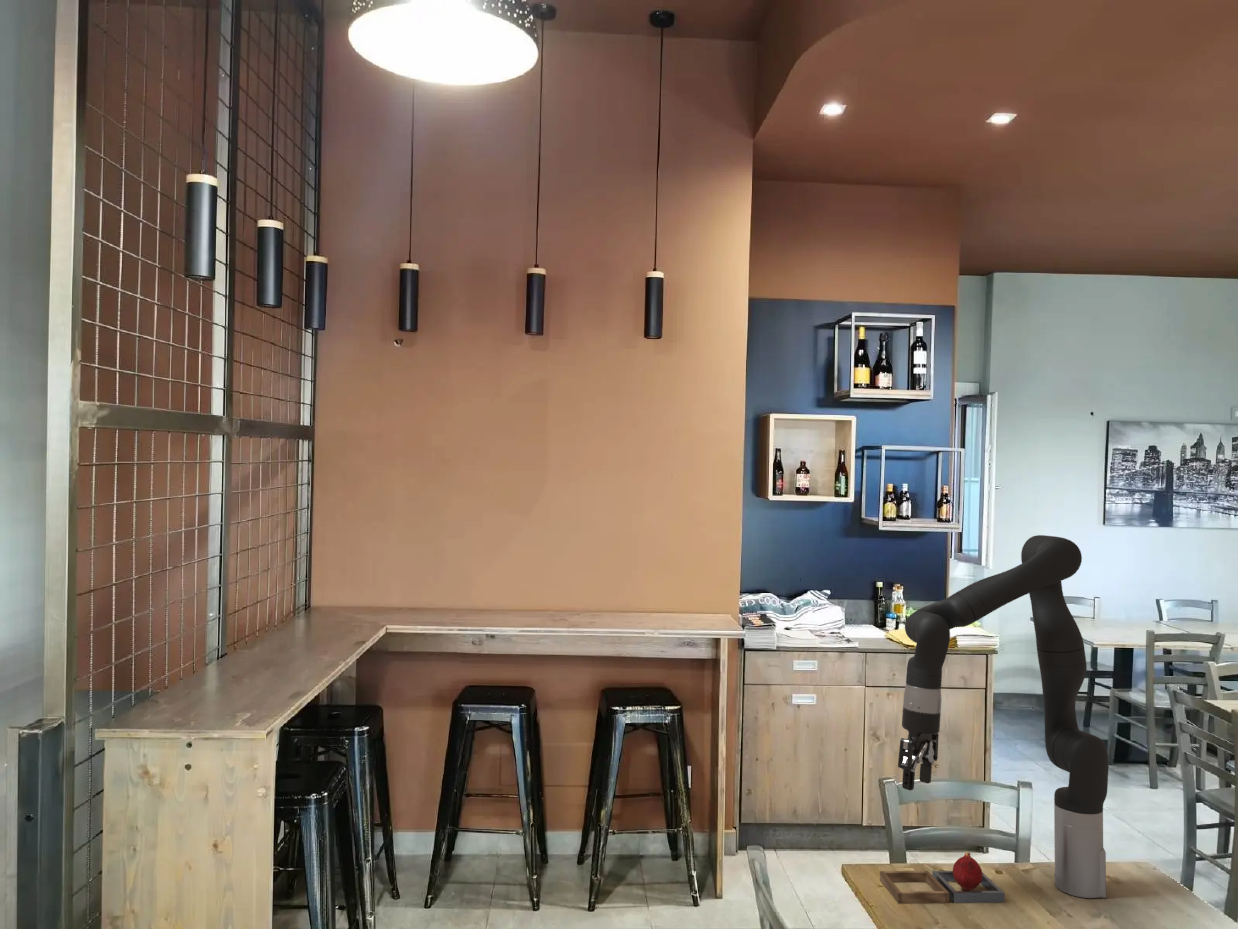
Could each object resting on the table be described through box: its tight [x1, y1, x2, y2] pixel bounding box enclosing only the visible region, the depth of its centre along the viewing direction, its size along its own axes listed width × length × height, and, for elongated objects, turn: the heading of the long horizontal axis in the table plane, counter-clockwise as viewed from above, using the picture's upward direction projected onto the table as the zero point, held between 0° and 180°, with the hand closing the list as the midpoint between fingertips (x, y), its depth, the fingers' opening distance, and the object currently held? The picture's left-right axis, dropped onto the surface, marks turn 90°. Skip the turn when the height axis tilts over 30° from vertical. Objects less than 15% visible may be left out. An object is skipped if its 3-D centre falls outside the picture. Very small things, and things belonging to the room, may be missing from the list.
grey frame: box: [932, 870, 1006, 904], centre depth 183 cm, size 11×11×2 cm
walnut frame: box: [879, 870, 950, 904], centre depth 182 cm, size 11×11×2 cm
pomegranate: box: [952, 851, 983, 891], centre depth 183 cm, size 6×6×8 cm
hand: (916, 785), depth 182 cm, fingers open, 8 cm apart
